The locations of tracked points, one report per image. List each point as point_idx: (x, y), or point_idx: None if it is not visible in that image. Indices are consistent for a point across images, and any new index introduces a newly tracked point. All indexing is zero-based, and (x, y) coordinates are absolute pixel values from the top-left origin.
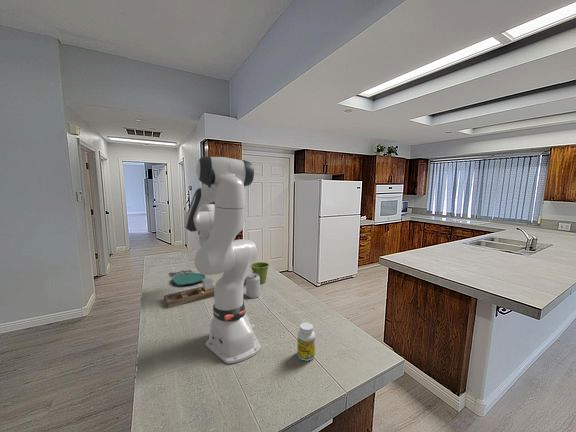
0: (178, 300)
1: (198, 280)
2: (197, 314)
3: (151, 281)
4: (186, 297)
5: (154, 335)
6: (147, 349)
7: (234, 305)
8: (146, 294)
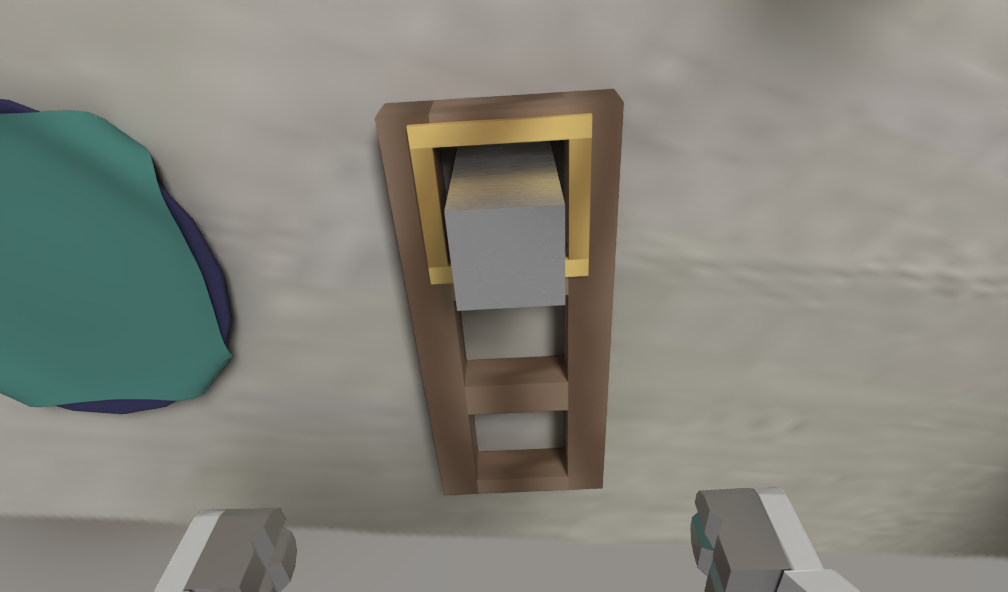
0: (599, 439)
1: (116, 201)
2: (828, 341)
3: (34, 497)
4: (580, 391)
5: (851, 523)
6: (938, 545)
7: None
8: (299, 527)
